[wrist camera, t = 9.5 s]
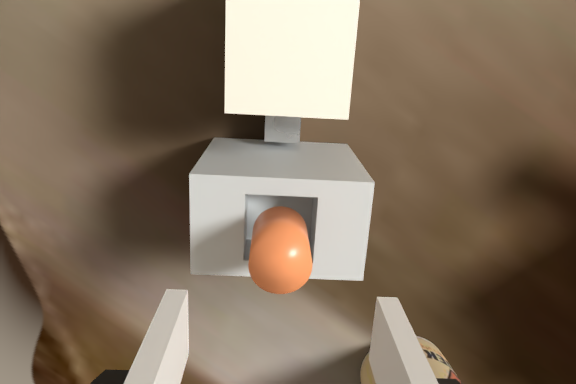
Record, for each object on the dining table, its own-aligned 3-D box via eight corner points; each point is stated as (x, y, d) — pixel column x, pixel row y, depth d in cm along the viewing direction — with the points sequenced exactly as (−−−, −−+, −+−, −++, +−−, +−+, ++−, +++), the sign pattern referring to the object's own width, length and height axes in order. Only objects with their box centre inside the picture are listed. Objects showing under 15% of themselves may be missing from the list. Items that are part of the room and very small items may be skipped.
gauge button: (253, 205, 24) (249, 235, 20) (308, 207, 24) (314, 237, 20) (252, 255, 25) (247, 292, 21) (305, 257, 25) (310, 295, 21)
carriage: (244, -33, 29) (226, -76, 19) (334, -27, 30) (366, -66, 19) (241, 91, 32) (224, 113, 21) (325, 95, 32) (348, 119, 22)
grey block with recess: (214, 137, 33) (189, 174, 24) (347, 143, 34) (374, 182, 24) (213, 212, 35) (190, 274, 26) (339, 217, 36) (362, 280, 26)
